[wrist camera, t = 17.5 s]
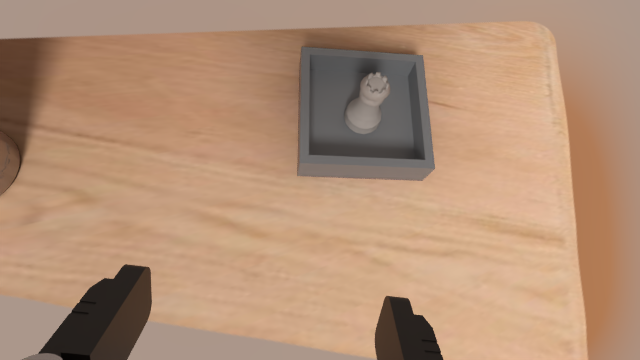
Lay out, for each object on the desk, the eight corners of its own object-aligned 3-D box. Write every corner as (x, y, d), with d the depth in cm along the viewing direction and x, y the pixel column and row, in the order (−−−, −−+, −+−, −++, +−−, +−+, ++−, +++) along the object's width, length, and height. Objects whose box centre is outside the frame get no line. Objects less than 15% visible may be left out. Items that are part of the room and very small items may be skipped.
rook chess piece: (373, 141, 47) (391, 107, 40) (338, 127, 47) (350, 91, 40) (383, 111, 49) (403, 73, 41) (350, 98, 49) (363, 57, 41)
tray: (297, 175, 46) (299, 163, 42) (299, 66, 51) (301, 46, 47) (422, 180, 47) (434, 168, 43) (412, 74, 52) (422, 55, 48)
